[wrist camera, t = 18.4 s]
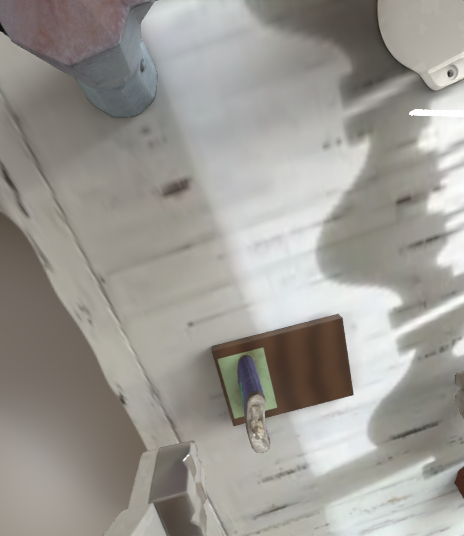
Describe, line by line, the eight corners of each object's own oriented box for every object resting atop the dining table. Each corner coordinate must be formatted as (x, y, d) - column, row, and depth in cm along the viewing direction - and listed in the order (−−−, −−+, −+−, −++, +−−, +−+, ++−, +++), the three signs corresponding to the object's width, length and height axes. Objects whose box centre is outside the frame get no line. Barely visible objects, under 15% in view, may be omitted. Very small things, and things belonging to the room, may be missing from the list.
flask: (259, 404, 46) (274, 465, 36) (241, 407, 46) (250, 469, 36) (254, 352, 44) (267, 402, 33) (234, 355, 43) (242, 406, 33)
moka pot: (187, 118, 36) (165, 38, 17) (60, 129, 35) (-115, 56, 16) (177, 28, 34) (136, -188, 14) (39, 36, 33) (-198, -180, 14)
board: (338, 313, 45) (342, 318, 43) (349, 389, 49) (354, 395, 47) (211, 346, 44) (211, 351, 43) (232, 419, 48) (233, 426, 47)
